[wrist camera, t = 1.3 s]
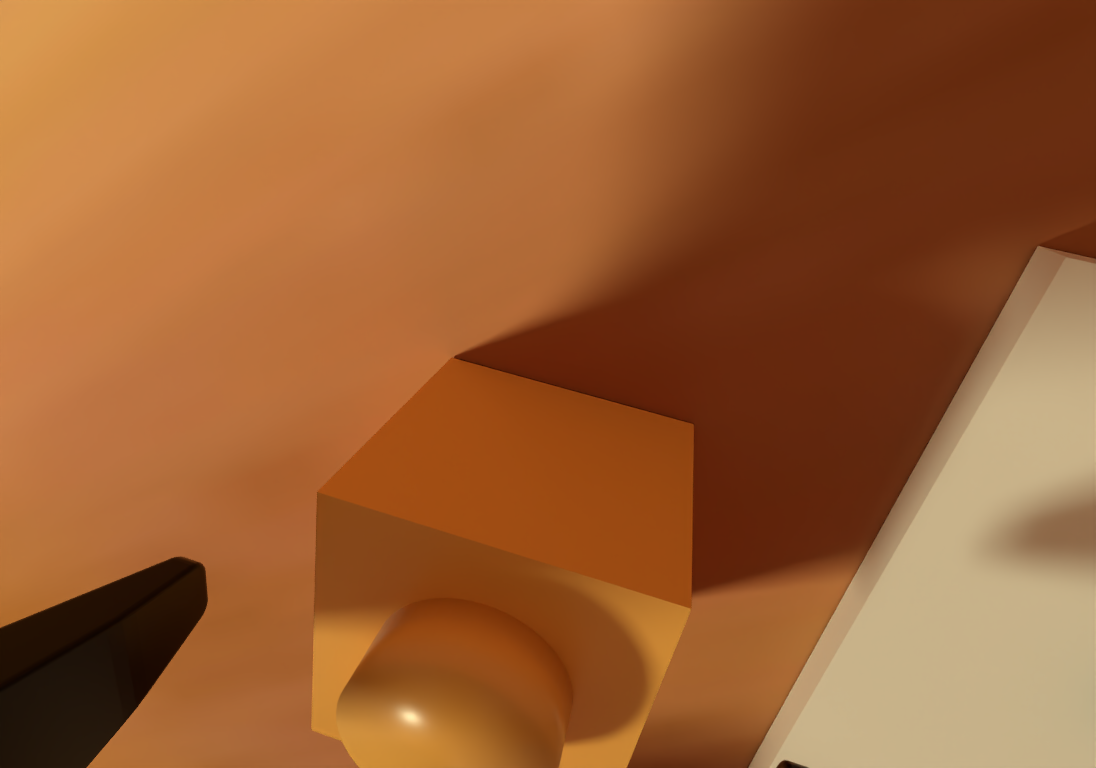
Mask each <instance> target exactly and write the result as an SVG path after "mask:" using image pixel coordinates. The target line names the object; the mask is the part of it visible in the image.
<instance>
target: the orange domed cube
mask: <svg viewBox="0 0 1096 768" xmlns="http://www.w3.org/2000/svg"><path fill="white" fill-rule="evenodd" d="M693 460H694V424H691V423H688V422H684V421H680V420H677V419H673V418H669V417H666V416H662V415H659V414H655V413H651V412H648V411H644V410H640V409H637V408H633V407H630V406H626V405H622V404H619V403H615V402H611V401H608V400H604V399H600V398H597V397H593V396H590V395H586V394H582V393H579V392H575V391H571V390H568V389H564V388H560V387H557V386H553V385H550V384H546V383H542V382H539V381H535V380H531V379H528V378H524V377H521V376H517V375H513V374H510V373H506V372H502V371H499V370H495V369H491V368H488V367H484V366H481V365H477V364H473V363H470V362H466V361H462V360H459V359H455V358H451V359H450V360H449V361H448V362H447V363H446V364H445V365H444V366H443V367H442V368H441V369H440V370H439V371H438V372H437V373H436V374H435V375H434V376H433V377H432V378H431V379H430V380H429V381H428V382H427V383H426V384H425V385H424V386H423V387H422V388H421V389H420V390H419V391H418V392H417V393H416V394H415V395H414V396H413V397H412V398H411V399H410V400H409V401H408V402H407V403H406V404H405V405H404V406H403V407H402V408H401V409H400V410H399V411H398V412H397V413H396V414H395V415H394V416H393V417H392V418H391V419H390V420H389V421H388V422H387V423H386V424H385V425H384V426H383V427H382V428H381V429H380V430H379V431H378V432H377V433H376V434H375V435H374V436H373V437H372V438H371V439H370V440H369V441H368V442H367V443H366V444H365V445H364V446H363V447H362V448H361V449H360V450H359V451H358V452H357V453H356V454H355V455H354V456H353V457H352V458H351V459H350V460H349V461H348V462H347V463H346V464H345V465H344V466H343V467H342V468H341V469H340V470H339V471H338V472H337V473H336V474H335V475H334V476H333V477H332V478H331V479H330V480H329V481H328V482H327V483H326V484H325V485H324V486H323V487H322V488H321V489H320V490H319V491H318V492H317V514H316V556H315V598H314V639H313V681H312V723H311V730H313V731H315V732H318V733H321V734H324V735H326V736H329V737H332V738H335V739H337V740H340V741H342V742H343V744H344V746H345V748H346V750H347V752H348V753H349V755H350V756H351V758H352V759H353V761H354V762H355V763H356V764H357V765H358V767H359V768H627V766H628V763H629V761H630V758H631V756H632V753H633V751H634V749H635V746H636V744H637V741H638V739H639V736H640V734H641V731H642V729H643V726H644V724H645V722H646V719H647V717H648V714H649V712H650V709H651V707H652V704H653V702H654V699H655V697H656V695H657V692H658V690H659V687H660V685H661V682H662V680H663V677H664V675H665V672H666V670H667V668H668V665H669V663H670V660H671V658H672V655H673V653H674V650H675V648H676V645H677V643H678V641H679V638H680V636H681V633H682V631H683V628H684V626H685V623H686V621H687V618H688V616H689V614H690V611H691V603H692V531H693Z"/></svg>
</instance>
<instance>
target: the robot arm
mask: <svg viewBox="0 0 1096 768" xmlns="http://www.w3.org/2000/svg"><path fill="white" fill-rule="evenodd" d="M207 602H208V596H207V584H206V571H205V567H204V566H203V564H201V563H200V562H197V561H194V560H191V559H188V558H185V557H174V558H171V559H169V560H166V561H164V562H161V563H159V564H156V565H154V566H151V567H149V568H146V569H144V570H141V571H139V572H137V573H134V574H132V575H129V576H127V577H124V578H122V579H119V580H117V581H114V582H112V583H109V584H107V585H105V586H102V587H100V588H97V589H95V590H92V591H90V592H87V593H85V594H82V595H80V596H77V597H75V598H73V599H70V600H68V601H65V602H63V603H60V604H58V605H55V606H53V607H50V608H48V609H45V610H43V611H41V612H38V613H36V614H33V615H31V616H28V617H26V618H23V619H21V620H18V621H16V622H13V623H11V624H9V625H6V626H4V627H1V628H0V768H86V767H87V766H88V765H89V764H90V763H91V762H92V760H93V759H94V758H95V757H96V756H97V755H98V753H99V752H100V751H101V750H102V749H103V747H104V746H105V745H106V744H107V743H108V742H109V740H110V739H111V738H112V737H113V736H114V735H115V733H116V732H117V731H118V730H119V729H120V727H121V726H122V725H123V724H124V723H125V722H126V720H127V719H128V718H129V717H130V715H131V714H132V713H133V712H134V711H135V709H136V708H137V707H138V705H139V704H140V703H141V701H142V700H143V699H144V697H145V696H146V695H147V693H148V692H149V691H150V689H151V688H152V686H153V685H154V684H155V682H156V681H157V679H158V678H159V677H160V675H161V674H162V672H163V671H164V669H165V668H166V667H167V665H168V664H169V662H170V661H171V660H172V658H173V657H174V655H175V654H176V652H177V651H178V650H179V648H180V647H181V645H182V644H183V643H184V641H185V640H186V638H187V637H188V636H189V634H190V633H191V631H192V630H193V628H194V627H195V626H196V624H197V623H198V621H199V620H200V619H201V617H202V615H203V614H204V612H205V609H206V607H207ZM776 768H808V767H806V766H803V765H800V764H797V763H794V762H791V761H788V760H783V761H781V762H780V763H779V764H778V766H777V767H776Z"/></svg>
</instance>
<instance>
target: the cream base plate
mask: <svg viewBox="0 0 1096 768" xmlns="http://www.w3.org/2000/svg"><path fill="white" fill-rule="evenodd" d="M783 760H788V761H791V762H794V763H797V764H800V765H803V766H806V767H808V768H1096V259H1094V258H1090V257H1085V256H1081V255H1076V254H1072V253H1067V252H1063V251H1059V250H1054V249H1050V248H1045V247H1041V246H1037V248H1036V250H1035V252H1034V254H1033V256H1032V257H1031V259H1030V261H1029V263H1028V265H1027V266H1026V268H1025V270H1024V272H1023V274H1022V275H1021V277H1020V279H1019V281H1018V283H1017V284H1016V286H1015V288H1014V290H1013V292H1012V293H1011V295H1010V297H1009V299H1008V301H1007V302H1006V304H1005V306H1004V308H1003V310H1002V311H1001V313H1000V315H999V317H998V319H997V320H996V322H995V324H994V326H993V328H992V329H991V331H990V333H989V335H988V337H987V338H986V340H985V342H984V344H983V346H982V347H981V349H980V351H979V353H978V355H977V356H976V358H975V360H974V362H973V364H972V365H971V367H970V369H969V371H968V373H967V374H966V376H965V378H964V380H963V382H962V383H961V385H960V387H959V389H958V391H957V392H956V394H955V396H954V398H953V400H952V401H951V403H950V405H949V407H948V409H947V410H946V412H945V414H944V416H943V418H942V419H941V421H940V423H939V425H938V427H937V428H936V430H935V432H934V434H933V436H932V437H931V439H930V441H929V443H928V445H927V446H926V448H925V450H924V452H923V454H922V455H921V457H920V459H919V461H918V463H917V464H916V466H915V468H914V470H913V472H912V473H911V475H910V477H909V479H908V481H907V483H906V484H905V486H904V488H903V490H902V492H901V493H900V495H899V497H898V499H897V501H896V502H895V504H894V506H893V508H892V510H891V511H890V513H889V515H888V517H887V519H886V520H885V522H884V524H883V526H882V528H881V529H880V531H879V533H878V535H877V537H876V538H875V540H874V542H873V544H872V546H871V547H870V549H869V551H868V553H867V555H866V556H865V558H864V560H863V562H862V564H861V565H860V567H859V569H858V571H857V573H856V574H855V576H854V578H853V580H852V582H851V583H850V585H849V587H848V589H847V591H846V592H845V594H844V596H843V598H842V600H841V601H840V603H839V605H838V607H837V609H836V610H835V612H834V614H833V616H832V618H831V619H830V621H829V623H828V625H827V627H826V628H825V630H824V632H823V634H822V636H821V637H820V639H819V641H818V643H817V645H816V646H815V648H814V650H813V652H812V654H811V655H810V657H809V659H808V661H807V663H806V664H805V666H804V668H803V670H802V672H801V673H800V675H799V677H798V679H797V681H796V682H795V684H794V686H793V688H792V690H791V691H790V693H789V695H788V697H787V699H786V700H785V702H784V704H783V706H782V708H781V709H780V711H779V713H778V715H777V717H776V719H775V720H774V722H773V724H772V726H771V728H770V729H769V731H768V733H767V735H766V737H765V738H764V740H763V742H762V744H761V746H760V747H759V749H758V751H757V753H756V755H755V756H754V758H753V760H752V762H751V764H750V765H749V767H748V768H776V767H777V766H778V764H779V763H780V762H781V761H783Z"/></svg>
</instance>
